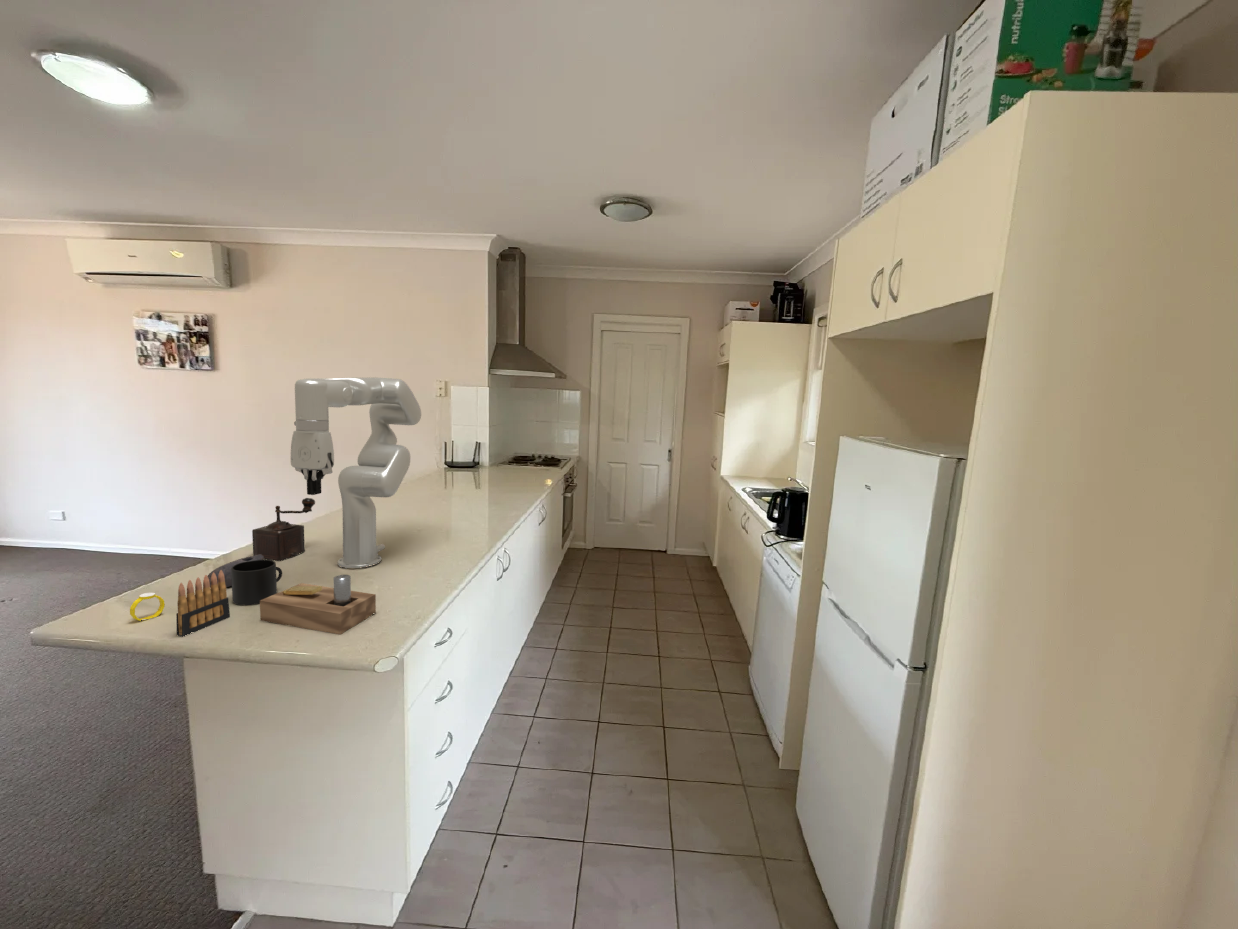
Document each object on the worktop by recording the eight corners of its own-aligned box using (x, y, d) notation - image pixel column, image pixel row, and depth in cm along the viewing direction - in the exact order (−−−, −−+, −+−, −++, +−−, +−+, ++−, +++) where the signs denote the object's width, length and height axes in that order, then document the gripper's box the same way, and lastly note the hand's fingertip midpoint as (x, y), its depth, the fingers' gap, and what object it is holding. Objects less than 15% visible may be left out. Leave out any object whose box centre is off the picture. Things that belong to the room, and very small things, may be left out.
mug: (294, 592, 136) (293, 560, 135) (248, 608, 125) (247, 573, 124) (270, 586, 139) (269, 554, 138) (223, 601, 128) (222, 567, 127)
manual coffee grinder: (281, 561, 158) (279, 506, 156) (251, 557, 160) (249, 503, 158) (319, 548, 173) (318, 497, 171) (291, 544, 175) (290, 494, 173)
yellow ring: (159, 614, 120) (160, 589, 120) (166, 616, 119) (167, 592, 119) (127, 622, 115) (128, 596, 114) (134, 624, 114) (135, 599, 113)
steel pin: (341, 616, 124) (341, 573, 122) (354, 618, 123) (353, 575, 121) (330, 622, 120) (329, 578, 119) (343, 624, 119) (342, 580, 118)
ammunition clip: (224, 616, 120) (221, 568, 119) (230, 617, 120) (228, 569, 119) (176, 635, 110) (173, 583, 109) (182, 637, 110) (179, 584, 108)
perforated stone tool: (211, 594, 132) (209, 569, 131) (200, 590, 134) (199, 565, 133) (271, 578, 145) (271, 555, 144) (261, 574, 147) (260, 551, 147)
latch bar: (293, 590, 125) (293, 586, 125) (322, 589, 124) (321, 586, 124) (282, 594, 122) (282, 590, 122) (312, 594, 121) (311, 590, 120)
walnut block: (301, 601, 131) (301, 583, 130) (375, 613, 126) (375, 594, 126) (260, 620, 119) (259, 600, 118) (340, 634, 115) (339, 613, 114)
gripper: (276, 425, 131) (279, 493, 133) (325, 429, 128) (327, 499, 130) (300, 424, 138) (302, 489, 141) (347, 427, 135) (348, 494, 138)
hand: (314, 493), depth 136 cm, fingers closed
